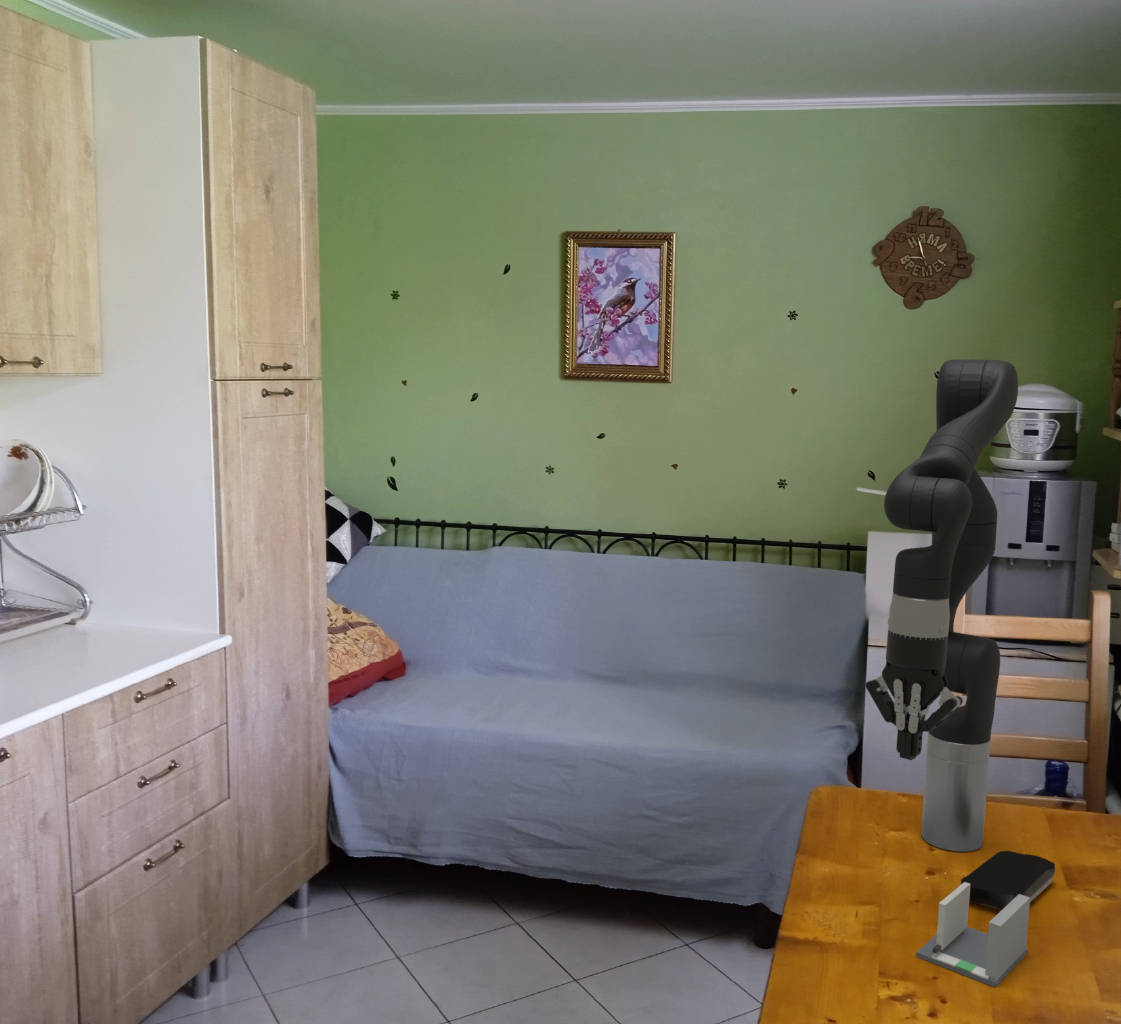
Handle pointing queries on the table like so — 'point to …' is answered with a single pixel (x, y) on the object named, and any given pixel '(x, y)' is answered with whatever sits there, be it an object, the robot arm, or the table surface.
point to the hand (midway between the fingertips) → (907, 757)
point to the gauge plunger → (952, 916)
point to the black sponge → (1009, 878)
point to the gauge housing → (986, 946)
